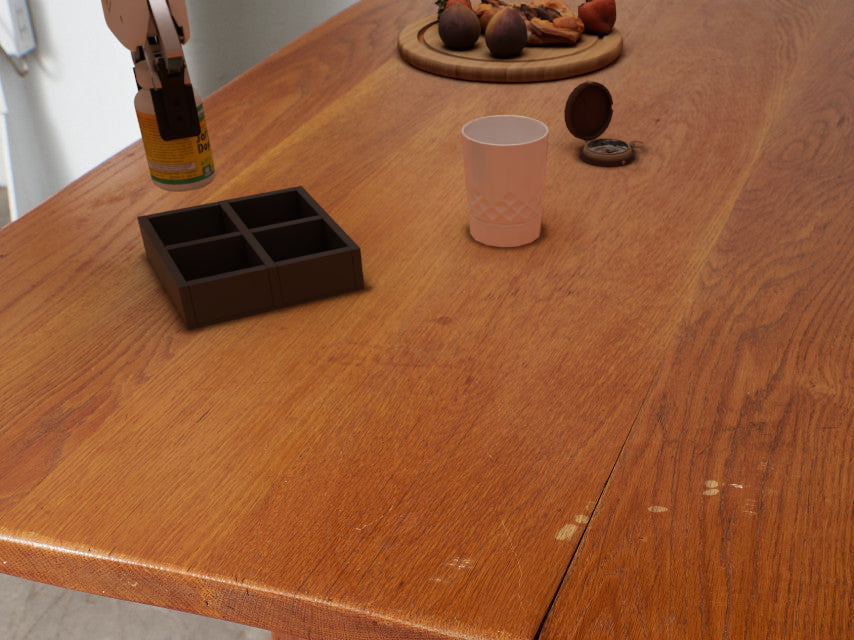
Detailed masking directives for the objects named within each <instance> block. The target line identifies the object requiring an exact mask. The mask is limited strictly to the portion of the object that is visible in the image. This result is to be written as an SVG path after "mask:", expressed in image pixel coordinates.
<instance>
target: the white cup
mask: <svg viewBox="0 0 854 640" xmlns="http://www.w3.org/2000/svg"><path fill="white" fill-rule="evenodd" d="M460 132H461V145H462V146H461V147H462V160H463V171H464V172H463V173H464V184H465V186H464V187H465V189H466V190H465V191H466V194H465V195H466V203H467V204H466V205H467V208H468V221H469V233H470V235H471V236H472V238H473V239H474V241H476V242H479V243H481V244H484V245H486V246H489V247H490V246H491V247H497V248H498V247H499V248H511V247H520V246H525V245H527V244H528V245H529V244H530V243H531V244H532V243H533V242H534V241H535V240H537V239H538V238H540V234H541V227H542V214H543V213H542V212H543V209H544V200H545V199H544V198H545V193H546V179H547V165H548V149H549V148H548V147H549V136H550V134H549V133H550V129H549V127H548V125H547V124H546V123H545V122H542V121H541V120H538V119H536V118H533V117H529V116H524V115H516V114H495V115H487V116H481V117H478V118H474V119H472V120H469V121H468V122H466V123H464V124H463V126H462V127H461V129H460Z"/></svg>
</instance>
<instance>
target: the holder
mask: <svg viewBox="0 0 854 640" xmlns="http://www.w3.org/2000/svg"><path fill="white" fill-rule="evenodd" d="M136 219H137V223H138V228H139V231H140V235H141V239H142V242H143V247H144V251H145V255H146V258H147V260H148V262H149V264H150V265H151V267H152V269H153V270H154V272H155V274H156V276H157V277H158V279H159V281H160V283H161V285H162V286H163V289H165V290H164V291H166V293H167V295H168V297H169V299H170V301H171V302H172V304H173V306H174V308H175V310H176V311H177V313H178V315H179V317H180V319H181V320H182V322H183V324H184V325H185V327H186V329H187V331H192V330H197V329H201V328H204V327H208V326H209V327H210V326H214V325H217V324H223V323H226V322H230V321H234V320H240V319H243V318H248V317H251V316H255V315H256V316H257V315H260V314H261V315H262V314H264V313H269V312H274V311H277V310H278V311H279V310H281V309H286V308H290V307H296V306H298V305H304V304H307V303H312V302H315V301H316V302H317V301H321V300H324V299H328V298H333V297H337V296H341V295H346V294H351V293H355V292H359V291H363V290H365V281H364V279H365V278H364V270H363V261H362V250H361V247H360V246H359V244H357V243H356V241H354V240H353V239H352V238H351V236H349V234H348V233H347V232H346V231H345V230H344V229H343V228H342V227H341V226H340V225H339V224H338V223H337V221H336V220H334V218H333V217H332V216H330V214H329V213H328V212H327V211H326V210H325V209H324V208H323V207H322V206H321V204H319V202H317V201H316V199H315V198H314V197H312V195H311V194H310V193H309V192H308V191H307V190H306V189H305V188H304V186H303V185H299V186H292V187H288V188H281V189H276V190H271V191H265V192H260V193H256V194H255V193H254V194H250V195H245V196H239V197H234V198H228V199H224V200H218V201H213V202H207V203H204V204H198V205H192V206H186V207H182V208H177V209H172V210H171V209H170V210H165V211H161V212H155V213H150V214H143V215H139V216H137V217H136Z"/></svg>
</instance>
